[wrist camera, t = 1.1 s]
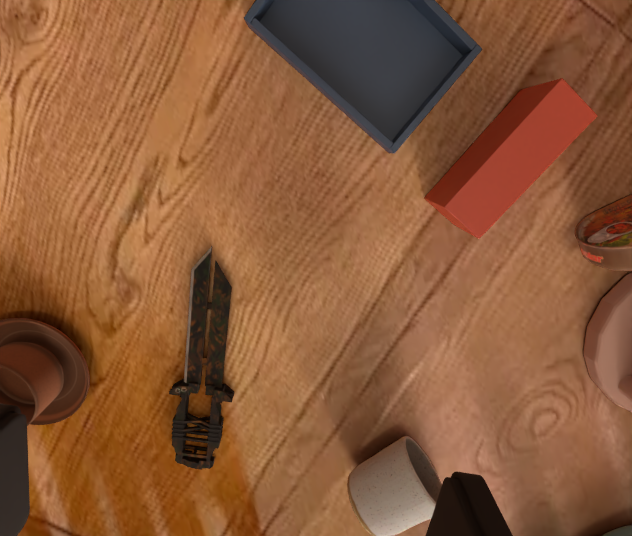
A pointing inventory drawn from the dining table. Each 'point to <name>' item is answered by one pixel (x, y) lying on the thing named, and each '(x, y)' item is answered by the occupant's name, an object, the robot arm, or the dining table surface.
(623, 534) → the casserole dish
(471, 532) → the robot arm
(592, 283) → the dining table surface
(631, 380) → the hourglass
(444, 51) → the tray
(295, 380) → the dining table surface
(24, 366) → the cup and saucer
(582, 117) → the bar
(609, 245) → the tin
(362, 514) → the ceramic mug
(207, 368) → the knife
